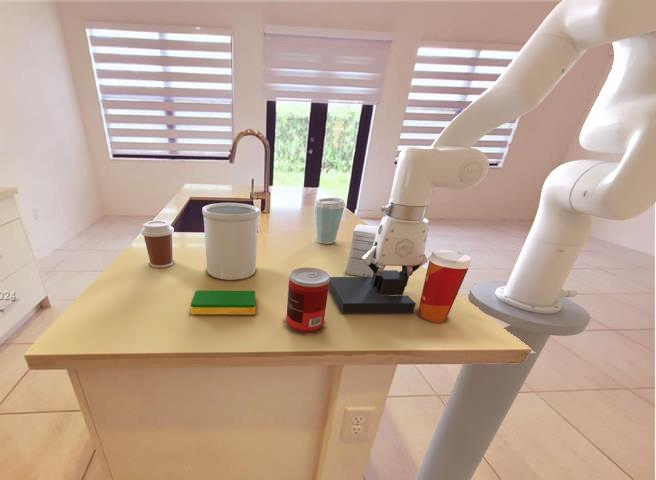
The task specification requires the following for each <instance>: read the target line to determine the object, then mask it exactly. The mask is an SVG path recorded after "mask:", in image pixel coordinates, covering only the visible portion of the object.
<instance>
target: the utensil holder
mask: <svg viewBox="0 0 656 480" xmlns="http://www.w3.org/2000/svg"><path fill="white" fill-rule="evenodd" d="M260 212H261V210H260V208H259V207H258V206H256V205H251V204H248V203H238V202H219V203H211V204H207V205H204V206H203V207H202V209H201V213H202V215H203V227H204V244H205V258H206V259H205V260H206V270H207V273H208V274H209V275H210V276H212V277H213V278H216V279H220V280H227V281H229V280H230V281H232V280H235V281H236V280H242V279H247V278H250V277H251V276H252V275H254V274H255V273H256V267H257V254H258V231H259V216H260Z"/></svg>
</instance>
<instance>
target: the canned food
mask: <svg viewBox="0 0 656 480" xmlns="http://www.w3.org/2000/svg"><path fill="white" fill-rule="evenodd" d="M288 276H289V277H288V286H287V287H288V289H287V301H286V304H287V305H286V317H285V319H286V320H285V321H286V323H287V326H288V327H289V328H290V329H291V330H293V331H295V332H297V333H302V334H311V333H315V332H317V331H319V330H320V329H322V328H323V325H324V323H325V315H326V311H327V310H326V309H327V302H328V295H329V281H330V277H331V276H330V274H329V272H327V271H326V270H324V269H320V268H316V267H299V268H295V269H293V270H291V271H290V273H289V275H288Z"/></svg>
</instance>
